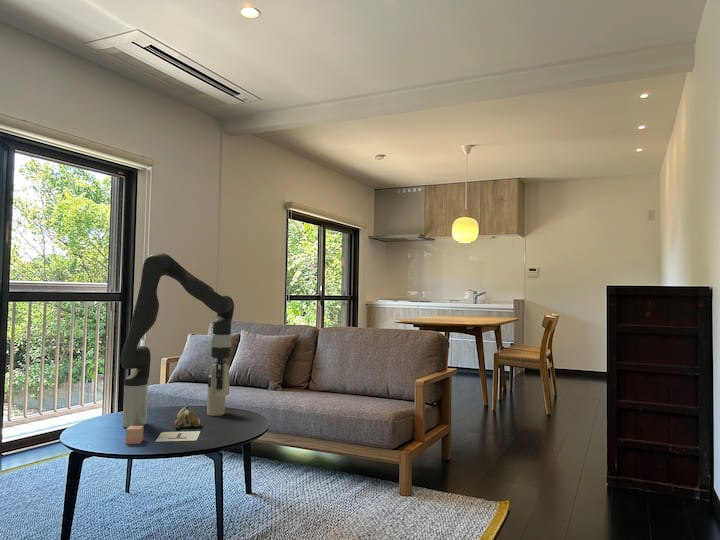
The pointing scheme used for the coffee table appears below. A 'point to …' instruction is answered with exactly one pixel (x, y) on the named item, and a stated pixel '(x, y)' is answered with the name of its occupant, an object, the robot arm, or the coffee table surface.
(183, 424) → the ceramic sculpture
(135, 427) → the terracotta block
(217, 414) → the travel mug
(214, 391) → the skincare box
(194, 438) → the letter mat
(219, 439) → the coffee table surface
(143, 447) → the coffee table surface
